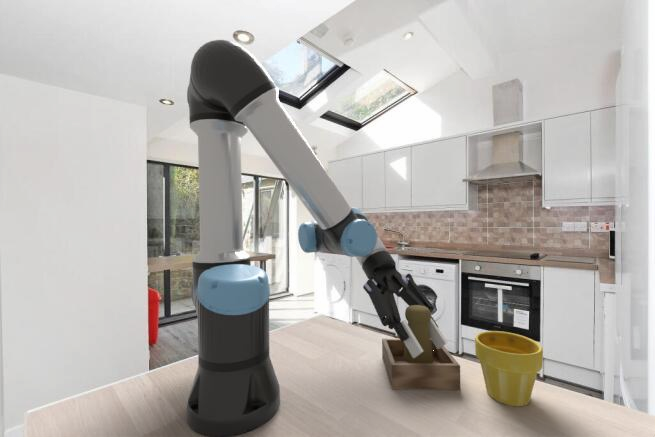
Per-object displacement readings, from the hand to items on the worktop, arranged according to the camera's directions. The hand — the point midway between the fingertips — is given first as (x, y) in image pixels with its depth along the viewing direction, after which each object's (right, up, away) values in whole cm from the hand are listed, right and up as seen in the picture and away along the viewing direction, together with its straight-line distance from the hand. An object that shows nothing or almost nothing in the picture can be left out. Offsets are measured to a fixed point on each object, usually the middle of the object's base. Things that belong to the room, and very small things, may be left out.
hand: (430, 350), depth 59 cm
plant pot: (+12, -6, -6) cm, 14 cm away
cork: (-1, -4, +4) cm, 5 cm away
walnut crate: (-2, -6, +3) cm, 7 cm away
